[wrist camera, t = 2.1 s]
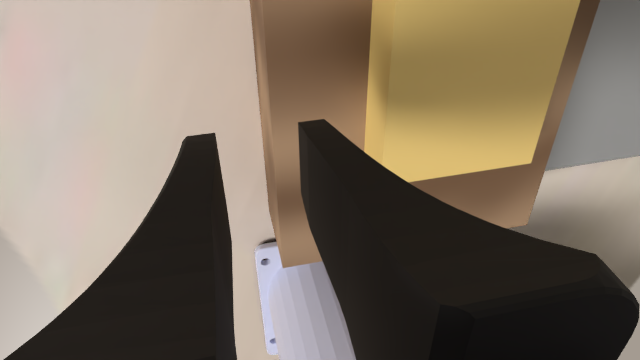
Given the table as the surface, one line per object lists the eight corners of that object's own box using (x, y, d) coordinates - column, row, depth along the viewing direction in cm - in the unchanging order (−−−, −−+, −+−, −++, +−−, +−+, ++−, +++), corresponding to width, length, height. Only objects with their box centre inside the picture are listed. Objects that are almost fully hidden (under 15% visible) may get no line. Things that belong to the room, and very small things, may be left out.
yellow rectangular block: (504, 135, 21) (531, 163, 19) (363, 155, 20) (380, 186, 18) (568, -117, 15) (613, -107, 14) (378, -108, 14) (403, -96, 13)
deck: (487, 176, 28) (527, 224, 25) (269, 210, 26) (282, 268, 22) (613, -347, 15) (724, -381, 12) (216, -363, 13) (230, -409, 10)
